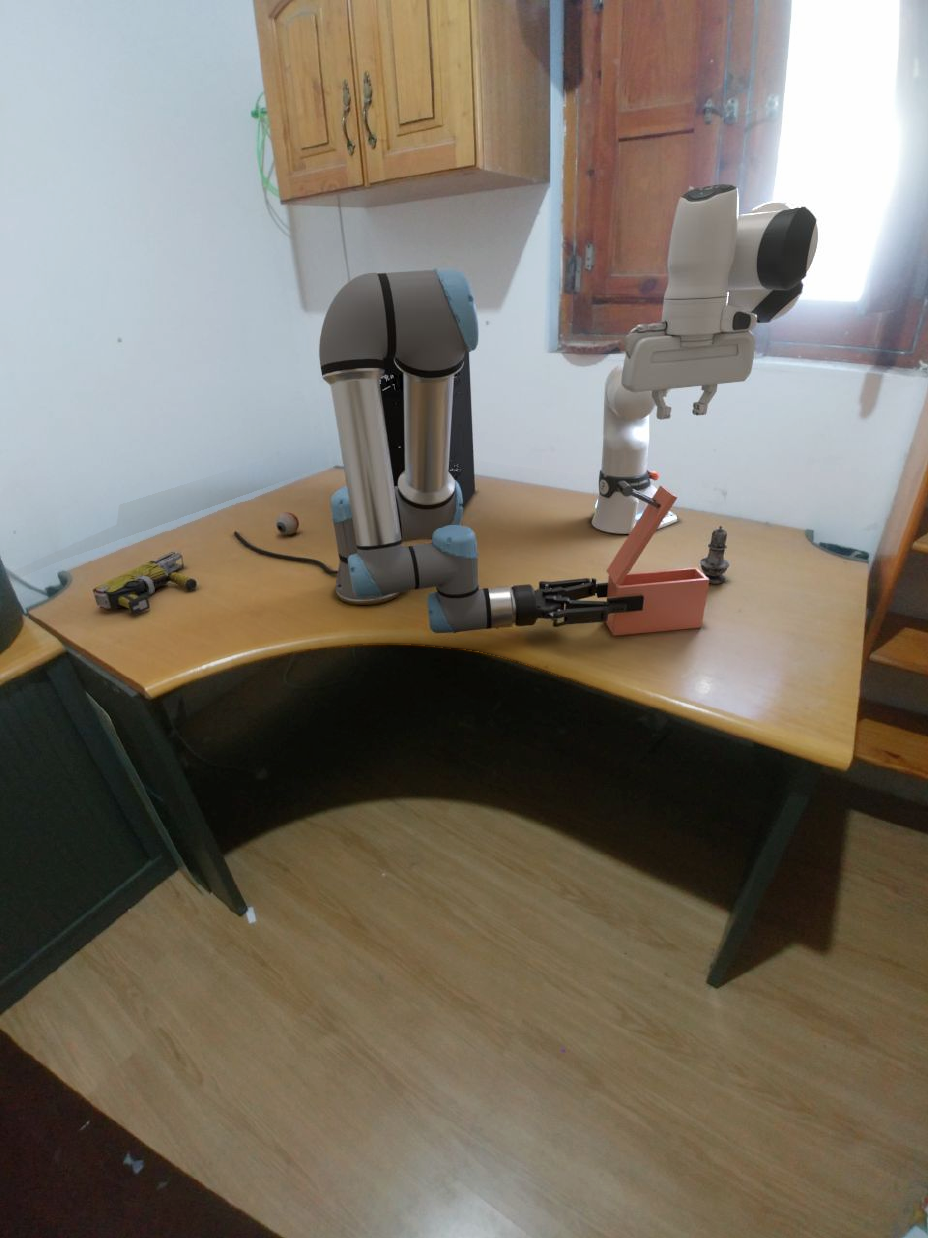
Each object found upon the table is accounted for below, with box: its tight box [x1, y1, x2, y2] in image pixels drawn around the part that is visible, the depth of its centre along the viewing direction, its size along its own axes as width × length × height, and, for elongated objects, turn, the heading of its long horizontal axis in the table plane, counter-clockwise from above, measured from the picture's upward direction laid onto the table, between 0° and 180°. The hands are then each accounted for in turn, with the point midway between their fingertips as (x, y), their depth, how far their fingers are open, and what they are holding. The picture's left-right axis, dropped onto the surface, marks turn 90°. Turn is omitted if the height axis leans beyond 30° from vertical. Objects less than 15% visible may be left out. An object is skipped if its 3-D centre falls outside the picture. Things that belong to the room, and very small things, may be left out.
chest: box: [605, 566, 710, 637], centre depth 112 cm, size 17×5×10 cm, turn 95°
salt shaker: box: [699, 525, 730, 585], centre depth 127 cm, size 6×6×12 cm
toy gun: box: [92, 551, 198, 616], centre depth 137 cm, size 5×24×15 cm
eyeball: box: [275, 511, 300, 536], centre depth 163 cm, size 6×6×6 cm
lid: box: [606, 481, 678, 585], centre depth 104 cm, size 18×5×9 cm
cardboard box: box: [379, 351, 476, 510], centre depth 164 cm, size 38×20×45 cm, turn 167°
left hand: (636, 595), depth 111 cm, fingers closed on chest, 5 cm apart
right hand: (681, 416), depth 96 cm, fingers open, 5 cm apart
